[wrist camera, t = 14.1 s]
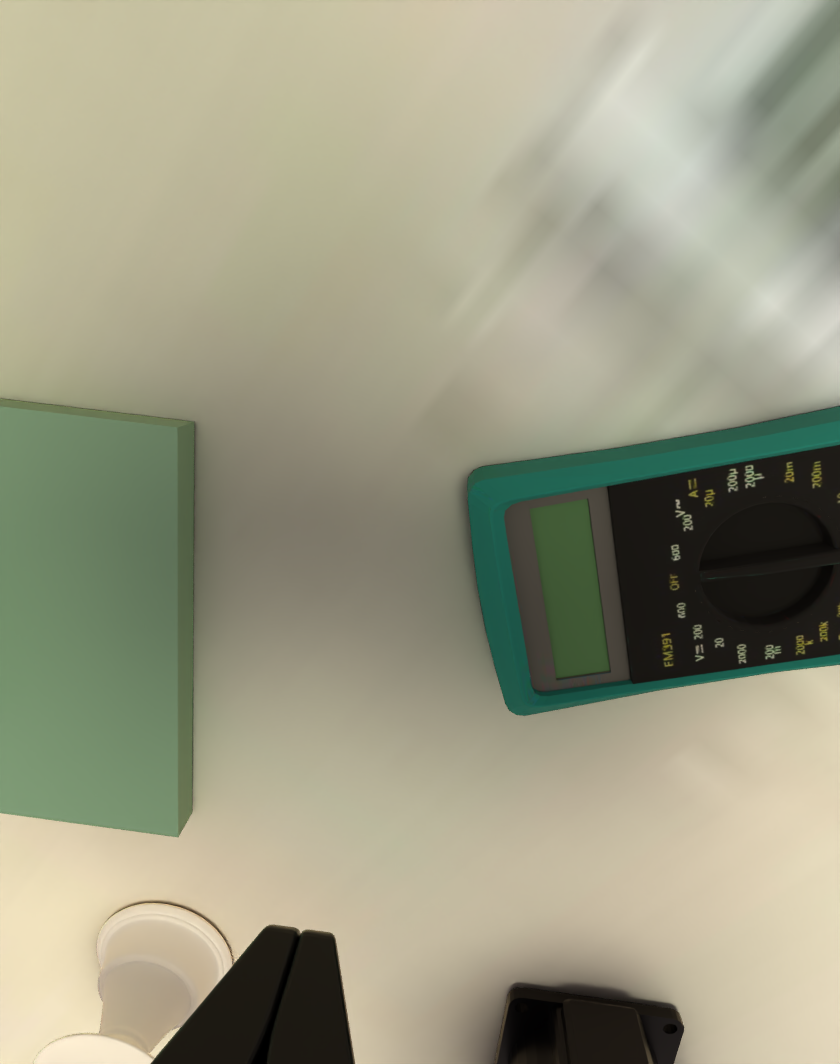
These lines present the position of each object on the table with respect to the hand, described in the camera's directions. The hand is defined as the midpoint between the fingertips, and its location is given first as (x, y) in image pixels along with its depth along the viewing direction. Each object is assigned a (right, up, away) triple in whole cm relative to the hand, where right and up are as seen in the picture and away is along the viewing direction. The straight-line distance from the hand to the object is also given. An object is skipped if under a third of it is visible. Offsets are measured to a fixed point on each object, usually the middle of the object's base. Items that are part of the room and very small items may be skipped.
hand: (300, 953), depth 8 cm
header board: (-12, +3, +14) cm, 19 cm away
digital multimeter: (+10, +5, +12) cm, 17 cm away
